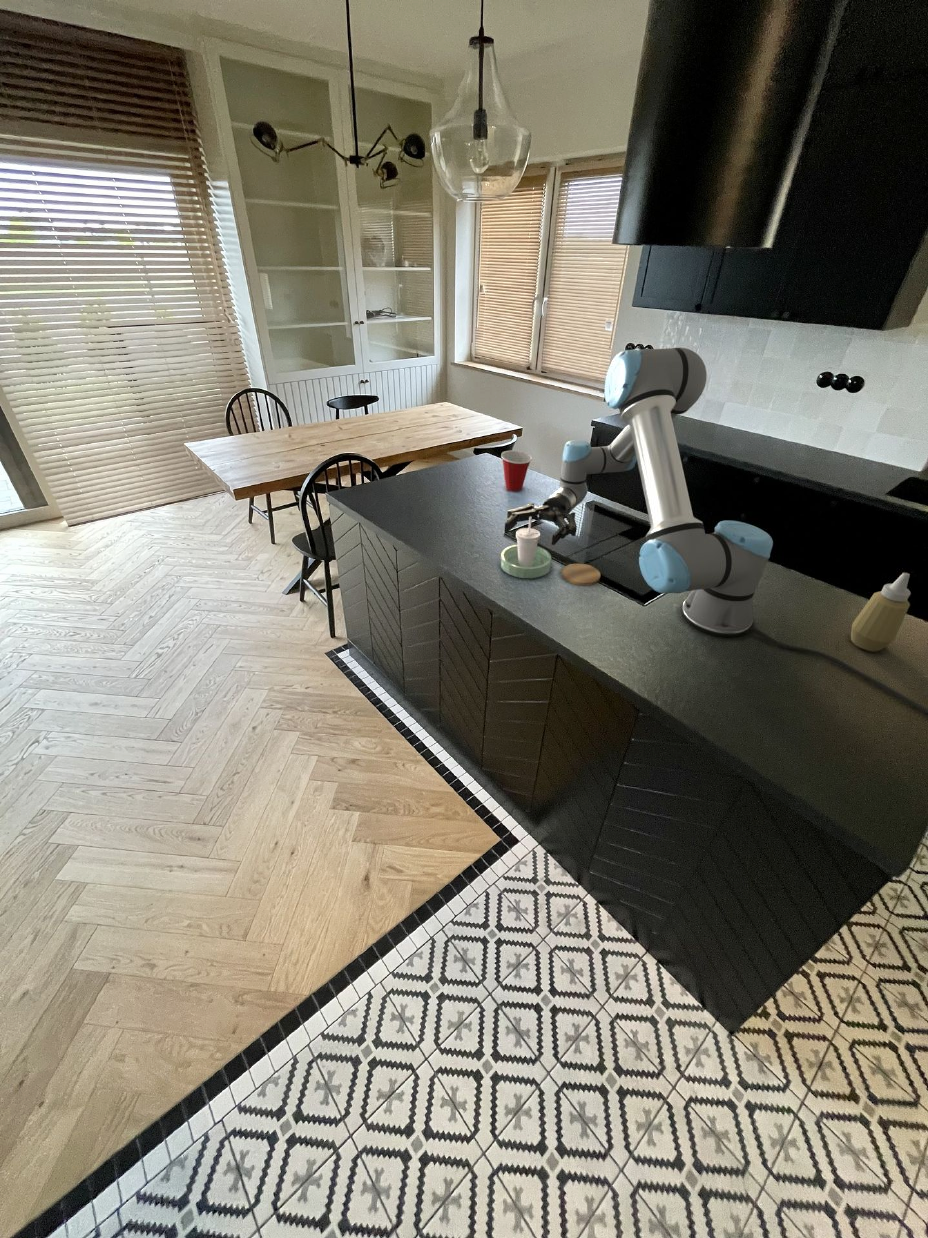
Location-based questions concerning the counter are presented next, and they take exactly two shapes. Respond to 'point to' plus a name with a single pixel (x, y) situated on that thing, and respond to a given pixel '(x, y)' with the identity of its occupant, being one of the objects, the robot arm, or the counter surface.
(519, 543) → the smoothie
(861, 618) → the squeeze bottle
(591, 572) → the coaster
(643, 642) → the counter surface
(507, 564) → the bowl
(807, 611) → the counter surface
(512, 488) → the plastic cup
